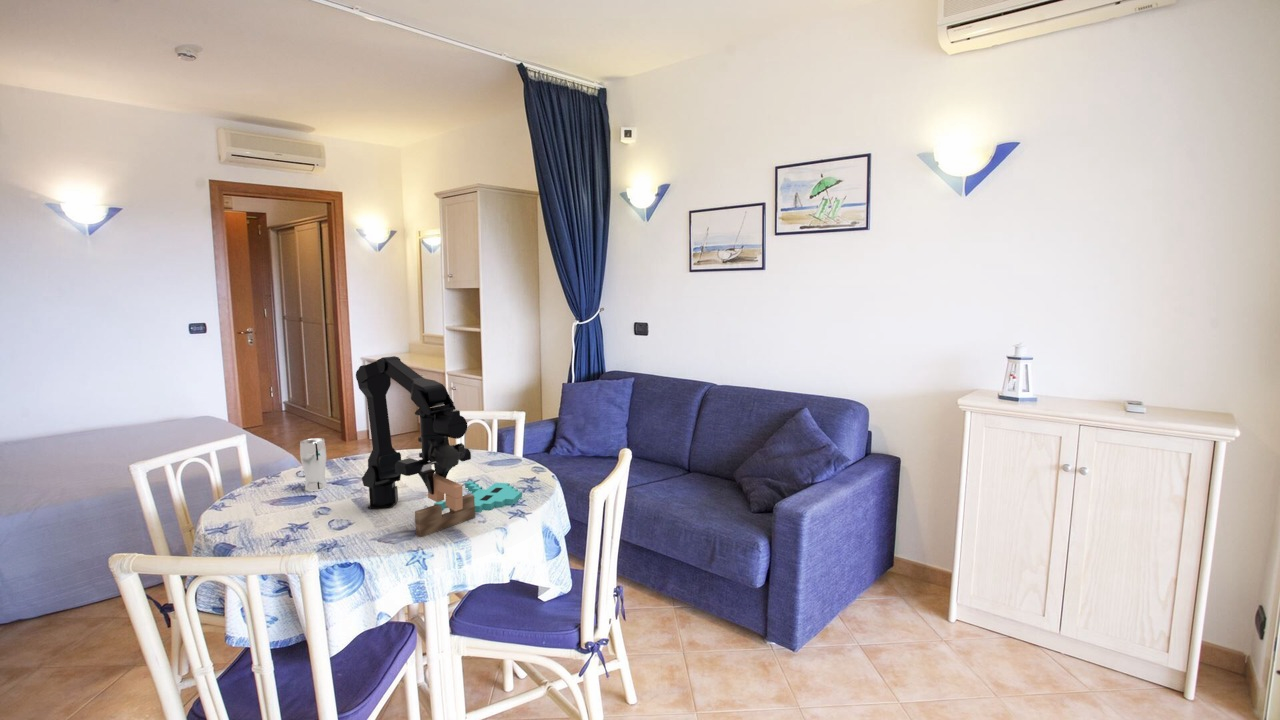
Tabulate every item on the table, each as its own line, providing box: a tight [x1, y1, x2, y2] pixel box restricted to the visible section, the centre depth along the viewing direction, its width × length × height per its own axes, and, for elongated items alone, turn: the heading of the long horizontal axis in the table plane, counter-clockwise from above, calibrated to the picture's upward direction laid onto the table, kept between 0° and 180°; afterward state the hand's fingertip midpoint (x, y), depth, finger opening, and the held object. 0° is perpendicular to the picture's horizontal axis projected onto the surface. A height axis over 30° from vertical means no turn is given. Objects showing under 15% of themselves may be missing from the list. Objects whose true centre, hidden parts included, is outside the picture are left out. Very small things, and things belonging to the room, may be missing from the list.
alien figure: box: [433, 480, 523, 513], centre depth 178 cm, size 20×2×20 cm
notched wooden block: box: [414, 493, 476, 538], centre depth 158 cm, size 16×2×6 cm, turn 141°
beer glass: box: [299, 437, 328, 493], centre depth 190 cm, size 7×7×15 cm
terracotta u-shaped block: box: [427, 472, 464, 511], centre depth 158 cm, size 12×2×6 cm, turn 51°
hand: (436, 492), depth 160 cm, fingers closed on terracotta u-shaped block, 2 cm apart
